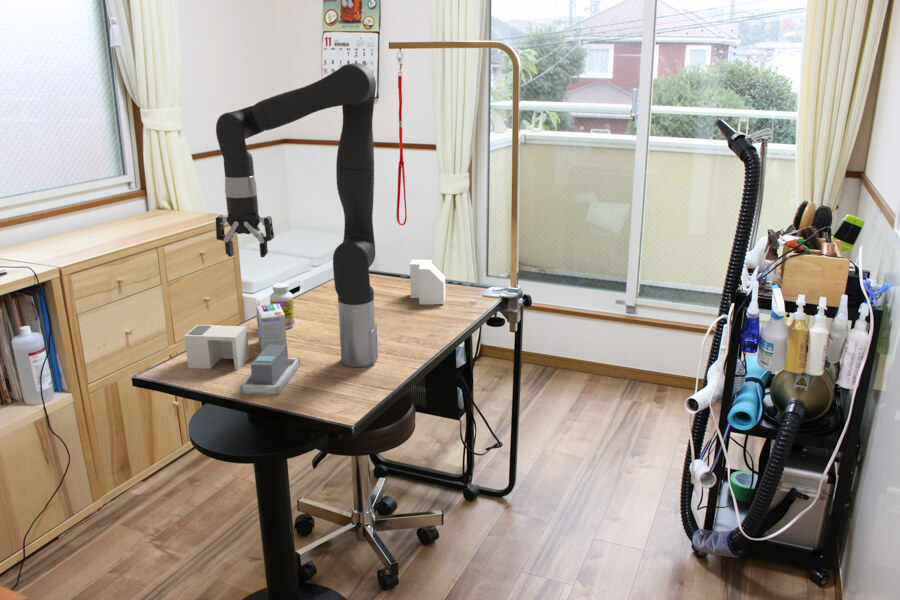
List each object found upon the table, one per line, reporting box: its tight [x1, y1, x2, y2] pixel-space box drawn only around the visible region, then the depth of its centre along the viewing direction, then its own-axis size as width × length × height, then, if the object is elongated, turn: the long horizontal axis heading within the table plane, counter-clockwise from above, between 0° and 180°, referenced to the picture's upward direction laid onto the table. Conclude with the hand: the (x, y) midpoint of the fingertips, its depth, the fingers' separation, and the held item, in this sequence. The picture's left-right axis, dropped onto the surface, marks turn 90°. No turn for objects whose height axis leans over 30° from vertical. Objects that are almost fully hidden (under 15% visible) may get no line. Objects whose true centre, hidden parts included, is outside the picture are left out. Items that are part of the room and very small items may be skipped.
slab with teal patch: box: [250, 344, 289, 385], centre depth 186 cm, size 5×13×6 cm, turn 175°
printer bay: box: [183, 324, 250, 371], centre depth 195 cm, size 14×8×9 cm, turn 85°
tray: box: [239, 357, 301, 396], centre depth 187 cm, size 10×18×2 cm, turn 175°
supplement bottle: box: [269, 282, 295, 330], centre depth 221 cm, size 7×7×13 cm
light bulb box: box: [255, 304, 288, 352], centre depth 206 cm, size 11×7×11 cm, turn 21°
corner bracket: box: [409, 259, 446, 305], centre depth 244 cm, size 11×11×12 cm
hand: (247, 256), depth 191 cm, fingers open, 8 cm apart
